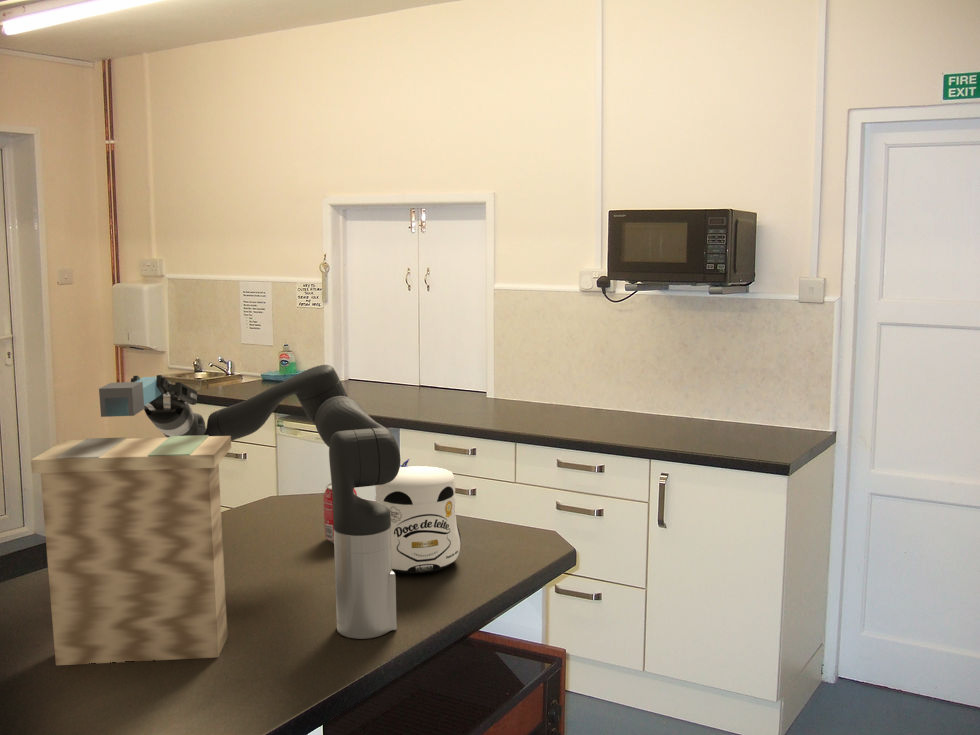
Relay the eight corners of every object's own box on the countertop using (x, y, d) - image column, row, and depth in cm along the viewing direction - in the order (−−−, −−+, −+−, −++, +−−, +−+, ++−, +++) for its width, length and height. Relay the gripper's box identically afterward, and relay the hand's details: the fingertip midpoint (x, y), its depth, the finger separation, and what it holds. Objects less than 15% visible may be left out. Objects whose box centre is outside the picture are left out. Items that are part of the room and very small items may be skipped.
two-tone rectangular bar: (168, 392, 162) (167, 368, 162) (133, 415, 141) (131, 387, 140) (140, 393, 162) (138, 369, 161) (100, 416, 140) (98, 388, 139)
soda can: (363, 535, 193) (362, 482, 191) (349, 546, 186) (348, 491, 184) (333, 533, 194) (332, 479, 193) (319, 543, 188) (317, 488, 186)
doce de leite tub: (420, 588, 163) (418, 493, 161) (354, 567, 174) (351, 478, 171) (478, 560, 177) (477, 473, 175) (413, 543, 187) (412, 460, 185)
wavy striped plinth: (239, 622, 149) (230, 434, 144) (224, 658, 136) (213, 453, 132) (78, 630, 146) (64, 439, 142) (47, 667, 134) (30, 458, 129)
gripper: (206, 429, 172) (186, 399, 156) (131, 431, 171) (102, 401, 155) (208, 393, 175) (188, 359, 159) (134, 395, 174) (107, 361, 158)
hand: (146, 380), depth 157 cm, fingers closed on two-tone rectangular bar, 3 cm apart
